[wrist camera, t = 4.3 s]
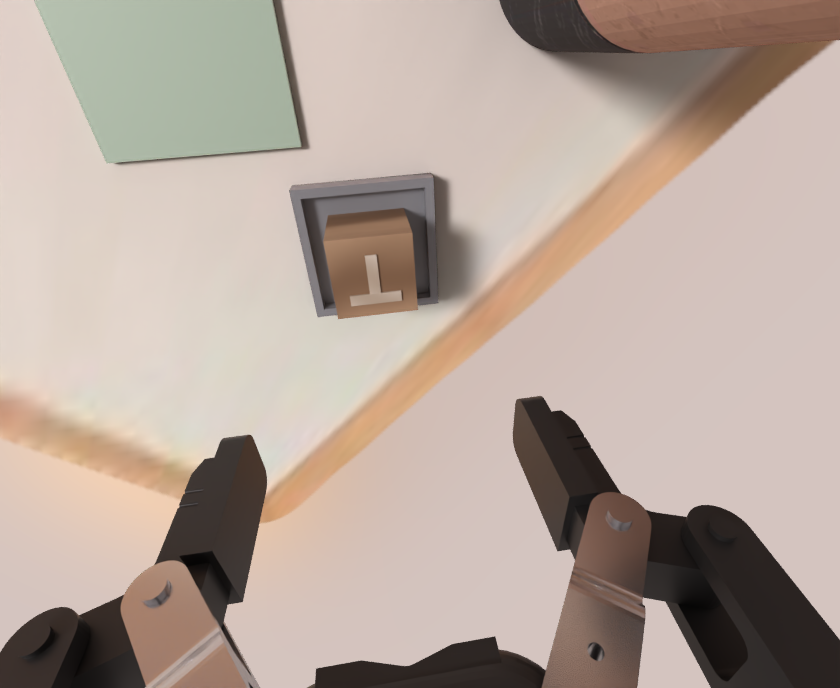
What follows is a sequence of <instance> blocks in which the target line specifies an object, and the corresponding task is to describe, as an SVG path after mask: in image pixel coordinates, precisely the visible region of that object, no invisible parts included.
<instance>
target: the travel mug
mask: <svg viewBox="0 0 840 688" xmlns="http://www.w3.org/2000/svg"><path fill="white" fill-rule="evenodd" d="M500 4H501V7H502V9H503V12H504V14H505V16H506V18H507V20H508V22H509V23H510V25H511V26H512V28H513V29H514V30H515V32H516V33H517V34H518V35H519V36H520V37H521V38H522V39H523V40H525V41H526V42H528V43H529V44H531V45H533V46H535V47H537V48H540V49H544V50H548V51H559V52H604V53H657V52H671V51H685V50H700V49H714V48H728V47H743V46H757V45H772V44H786V43H800V42H815V41H829V40H840V0H500Z"/></svg>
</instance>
